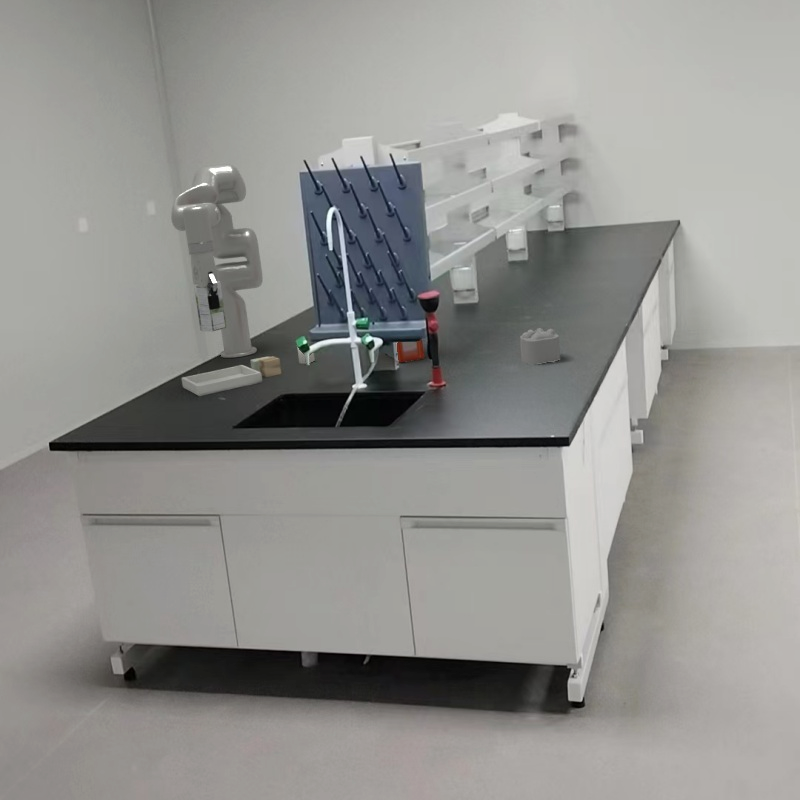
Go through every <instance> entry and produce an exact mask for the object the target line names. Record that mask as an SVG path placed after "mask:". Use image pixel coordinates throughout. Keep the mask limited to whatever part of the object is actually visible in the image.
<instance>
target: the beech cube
mask: <svg viewBox="0 0 800 800" xmlns="http://www.w3.org/2000/svg"><path fill="white" fill-rule="evenodd" d="M267 357H268V356H267ZM258 360H259V367H260V372H261V375H262V377H265V378H269V377H270V378H271V377H274V376H278V375H282V366H281V360H280V357H279V358H278V357H276V356H273V355H272V356H269V357H268V358H263V359H258Z"/></svg>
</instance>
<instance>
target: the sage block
mask: <svg viewBox="0 0 800 800" xmlns="http://www.w3.org/2000/svg"><path fill="white" fill-rule="evenodd" d="M268 357H270V356H264V357H263V356H262V357H259V358H253V359H250V368H251V369H254V370H256V371H258V372H260V367H259V360H258V359H263V358H268Z"/></svg>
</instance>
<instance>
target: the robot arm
mask: <svg viewBox="0 0 800 800" xmlns="http://www.w3.org/2000/svg"><path fill="white" fill-rule="evenodd" d="M246 195H247V188H246V183H245V181H244V178H243V177H242V174H241V173H240V170H238V168H237V167H235V165H233V164H227V163H226V164H218V165H210V166H204V167H200V168H198V169H197V170H196V171H195V173H194V176H193V179H192V185H191V187H190V188H188V189H187V190H185V191H183V192H182V193H181V194H179V195H178V196H177V197H176V198H175V199H174V200H173V203H172V208H171V223H172V226H173V227H174V229H175V230H177V231H179V232H181V231H182V232H183V231H184V232H185V236H186V242H187V249H188V255H189V256H190V266H191V275H192V283H193V285H194V284H198V287H200V288H205V286H206V287H207V293H208V304H209V309H210V310H213V309H219V308H220V303H219V297H218V291H217V290H218V289H217V284H218V281H220V283H221V290H222V298H223V305H224V313H225V320H226V328H224V329H220V331H221V333H220V334H221V338H222V345H223V346H222V347H223V350H222V351H220V353H219V356H220V355H221V356H220V357H221V358H223V359H226V358H227V359H229V358H230V359H231V358H241V357H246V356H247V357H248V356H250V355H253V354H255V353H256V352H257V348H256V347H255V346H252V342H251V335H250V327H249V321H248V320H249V319H248V312H247V307H246V302H245V300H244V298H243V297H242V296H241V295H240V294H239V293H238V292H237V291H241V290H250V289H257V288H259V287H261V286H262V284H263V269H262V262H261V255H260V248H259V242H258V238H257V234H256V232H255V231H254V230H253V229H251V228H247V227H246V228H245V227H244V228H234V222H233V216H232V213H231V212H230V210H229V209H228V208H227V207H226V206H225V205H224V204H231V203H232V204H233V203H241V202H243V201H244V199H245V198H246ZM237 258H245V259H246V260H241V261H230V262H229V261H228V262H223V263H218V264H216V261H215V259H218V260H227V259H228V260H229V259H237ZM208 284H212V285H209V286H208ZM210 288H211V289H210Z"/></svg>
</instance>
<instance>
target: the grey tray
mask: <svg viewBox="0 0 800 800" xmlns="http://www.w3.org/2000/svg"><path fill="white" fill-rule="evenodd" d="M181 383H182V388H184V389H185V390H187V391H189V392H191V393H192V394H194V395H197V396H198V397H202V396H206V395H211V394H216V393H220V392H224V391H229V390H233V389H238V388H243V387H248V386H251V385H257V384H260V383H261V384H262V383H263V375H261V372H258V371H256V370H254V369H252V368H251V367H248V366H246V365H244V364H239V365H235V366H232V367H226V368H222V369H216V370H212V371H208V372H202V373H197V374H193V375H188V376H182V377H181Z"/></svg>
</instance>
